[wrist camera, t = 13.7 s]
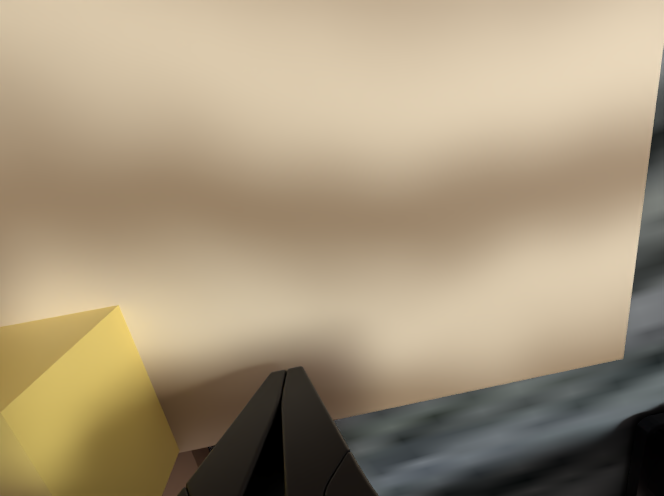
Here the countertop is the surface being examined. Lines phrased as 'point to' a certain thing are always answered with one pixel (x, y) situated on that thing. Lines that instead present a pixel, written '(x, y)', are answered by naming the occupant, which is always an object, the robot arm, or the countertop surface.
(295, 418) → the robot arm
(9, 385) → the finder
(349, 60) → the panel
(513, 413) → the countertop surface
